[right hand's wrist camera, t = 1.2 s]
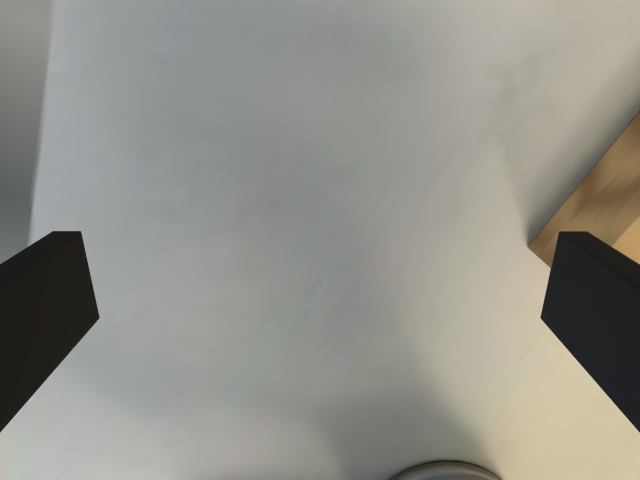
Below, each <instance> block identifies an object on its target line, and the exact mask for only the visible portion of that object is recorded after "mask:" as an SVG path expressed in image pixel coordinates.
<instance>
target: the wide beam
mask: <svg viewBox="0 0 640 480" xmlns="http://www.w3.org/2000/svg"><path fill="white" fill-rule="evenodd" d="M559 231H587V232H589V233H590V234H592V235H594V236H595V237H597V238H598V239H600V240H602V241H603V242H605V243H606V244H608V245H610V246H611V247H613V248H614V249H616V250H618V251H619V252H621V253H622V254H624V255H626V256H627V257H629V258H630V259H632V260H634V261H635V262H637V263H638V264H640V112H639V113H638V114H637V116H636V117H635V118H634V119H633V120H632V122H631V123H630V124H629V125H628V126H627V128H626V129H625V130H624V131H623V132H622V134H621V135H620V136H619V137H618V138H617V140H616V141H615V142H614V143H613V144H612V146H611V147H610V148H609V149H608V151H607V152H606V153H605V154H604V155H603V157H602V158H601V159H600V160H599V161H598V163H597V164H596V165H595V166H594V167H593V169H592V170H591V171H590V172H589V173H588V175H587V176H586V177H585V178H584V180H583V181H582V182H581V183H580V184H579V186H578V187H577V188H576V189H575V190H574V192H573V193H572V194H571V195H570V196H569V198H568V199H567V200H566V201H565V202H564V204H563V205H562V206H561V207H560V208H559V210H558V211H557V212H556V213H555V215H554V216H553V217H552V218H551V219H550V221H549V222H548V223H547V224H546V225H545V227H544V228H543V229H542V230H541V231H540V233H539V234H538V235H537V236H536V237H535V239H534V240H533V241H532V242H531V243H530V245H529V246H528V248H529V249H530V250H531V251H532V252H533V253H534V254H536V255H537V256H538V257H539V258H540V259H541V260H542V261H543V262H544V263H546V264H547V265H548V266H549V267H550V268H551V267H552V262H553V257H554V253H555V248H556V243H557V239H558V234H559Z"/></svg>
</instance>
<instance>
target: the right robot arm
mask: <svg viewBox="0 0 640 480" xmlns="http://www.w3.org/2000/svg"><path fill="white" fill-rule="evenodd" d="M98 319H99V313H98V309H97V304H96V299H95V295H94V290H93V285H92V281H91V276H90V271H89V267H88V262H87V257H86V253H85V248H84V243H83V239H82V234H81V231H53V232H51V233H50V234H48V235H46V236H45V237H43V238H42V239H40V240H38V241H37V242H35V243H34V244H32V245H30V246H29V247H27V248H26V249H24V250H22V251H21V252H19V253H18V254H16V255H14V256H13V257H11V258H10V259H8V260H6V261H5V262H3V263H2V264H0V432H1V431H2V430H3V429H4V428H5V426H6V425H7V424H8V423H9V422H10V421H11V419H12V418H13V417H14V416H15V415H16V414H17V413H18V411H19V410H20V409H21V408H22V407H23V406H24V404H25V403H26V402H27V401H28V400H29V399H30V398H31V396H32V395H33V394H34V393H35V392H36V391H37V389H38V388H39V387H40V386H41V385H42V384H43V383H44V381H45V380H46V379H47V378H48V377H49V376H50V375H51V373H52V372H53V371H54V370H55V369H56V368H57V366H58V365H59V364H60V363H61V362H62V361H63V360H64V358H65V357H66V356H67V355H68V354H69V353H70V351H71V350H72V349H73V348H74V347H75V346H76V345H77V343H78V342H79V341H80V340H81V339H82V338H83V336H84V335H85V334H86V333H87V332H88V331H89V330H90V328H91V327H92V326H93V325H94V324H95V323H96V321H97V320H98ZM541 319H542V320H543V321H544V323H545V324H546V325H547V326H548V327H549V328H550V330H551V331H552V332H553V333H554V334H555V335H556V336H557V338H558V339H559V340H560V341H561V342H562V343H563V345H564V346H565V347H566V348H567V349H568V350H569V351H570V353H571V354H572V355H573V356H574V357H575V358H576V360H577V361H578V362H579V363H580V364H581V365H582V366H583V368H584V369H585V370H586V371H587V372H588V373H589V375H590V376H591V377H592V378H593V379H594V380H595V381H596V383H597V384H598V385H599V386H600V387H601V388H602V389H603V391H604V392H605V393H606V394H607V395H608V396H609V398H610V399H611V400H612V401H613V402H614V403H615V404H616V406H617V407H618V408H619V409H620V410H621V411H622V413H623V414H624V415H625V416H626V417H627V418H628V419H629V421H630V422H631V423H632V424H633V425H634V426H635V428H636V429H637V430H638V431H639V432H640V264H638V263H637V262H635V261H634V260H632V259H630V258H629V257H627V256H626V255H624V254H622V253H621V252H619V251H618V250H616V249H614V248H613V247H611V246H610V245H608V244H606V243H605V242H603V241H602V240H600V239H598V238H597V237H595V236H594V235H592V234H590V233H589V232H587V231H559V234H558V239H557V243H556V248H555V253H554V257H553V262H552V267H551V271H550V276H549V281H548V285H547V290H546V295H545V299H544V304H543V309H542V313H541ZM391 480H500V479H498V478H497V477H496V476H495V475H493V474H492V473H490V472H489V471H487V470H485V469H482V468H480V467H477V466H474V465H470V464H466V463H459V462H436V463H429V464H424V465H420V466H417V467H414V468H411V469H409V470H406V471H404V472H402V473H400V474H398V475H397V476H395V477H394V478H392V479H391Z"/></svg>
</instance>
